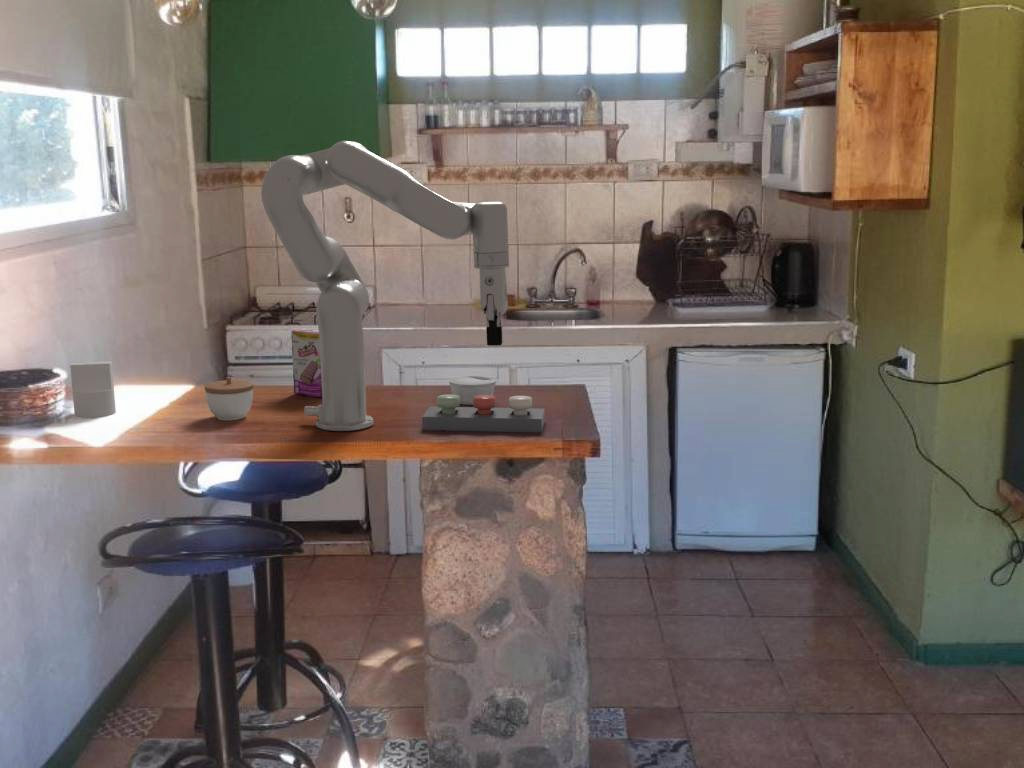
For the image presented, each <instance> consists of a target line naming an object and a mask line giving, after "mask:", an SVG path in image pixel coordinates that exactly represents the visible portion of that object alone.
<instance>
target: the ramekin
mask: <svg viewBox="0 0 1024 768" xmlns="http://www.w3.org/2000/svg"><path fill="white" fill-rule="evenodd" d="M496 385H497V381H496V379H494V378H492V377H488V376H478V375H472V376H471V375H470V376H469V375H466V376H457V377H453V378H451V379H450V380H449V386H450V390H451V395H458V396H460V405H468V406H473V397H474V396H479V395H491V396H494V392H495V386H496Z"/></svg>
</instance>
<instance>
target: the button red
mask: <svg viewBox="0 0 1024 768" xmlns="http://www.w3.org/2000/svg"><path fill="white" fill-rule="evenodd" d="M496 400H497V398H496V396H494V395H493V396H491V395H479V396H474V397H473V405H472V407H474V408H477V409H478V415H491V408H497V405H496V404H497V403H496Z"/></svg>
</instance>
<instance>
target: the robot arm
mask: <svg viewBox="0 0 1024 768" xmlns="http://www.w3.org/2000/svg"><path fill="white" fill-rule="evenodd" d="M262 180H263V181H262V184H261V192H260V193H261V202H262V206H263V209H264V212H265V214H266V216H267V218H268V219H269V222H270V223H271V225H272V227H273V229H274V230H275V232H276V234H277V236H278V238H279V240H280V241H281V244H282V246H283V247H284V249H285V250H286V252H287V254H288V256H289V258H290V259H291V261H292V262H293V263H292V264H293V265H294V267H295V269H296V271H297V272H298V274H299V275H300V276H301V278H303V279H305V280H306V281H307V282H311V283H315V285H317V286H316V287H317V288H318V290H319V291H320V294H319V296H318V297H317V298H318V299H317V302H316V310H315V311H316V320H317V326H318V329H317V330H319V339H320V357H321V380H322V398H321V399H322V400H321V401H322V404H319V405H318V406H313V405H305V406H304V411H303V412H304V415H306V417H317V418H318V419H316V421H315V424H316V425H315V426H316V428H319V429H320V430H324V431H331V432H350V431H351V432H352V431H359V430H364V429H367V428H369V427H372V425H374V418H373V417H372V416H371V415H367V397H366V396H367V395H366V371H365V370H366V367H365V366H366V364H365V362H366V361H365V360H366V359H365V343H364V331H363V330H364V329H363V320H362V318H363V316H364V315H365V314H366V312H367V310H368V308H369V304H370V295H369V291H368V289H367V287H366V285H365V283H364V281H363V279H361V276H360V275H359V272H358V271H357V269H356V267H355V266H354V264H353V262H352V260H351V258H350V257H349V254H348V253H347V252H346V250H345V248H344V247H343V245H341V244H340V243H339V241H337V240H336V239H335V238H332V237H331V236H327V235H326V236H325V235H324V233H323V232H322V230H321V228H320V227H319V225H318V223H317V221H316V219H315V218H314V216H313V214H312V212H311V211H310V209H309V208H308V207H307V205H306V203H305V201H304V198H303V197H304V196H305V195H310V194H315V193H317V192H322V191H325V190H329V189H333V188H336V187H341V186H344V185H347V186H349V187H350V188H352V189H354V190H356V191H358V192H360V193H361V194H364V195H365V196H367V197H369V198H371V199H372V200H374V201H375V202H378V203H380V204H382V205H383V206H385V207H387V208H388V209H390V210H391V211H393V212H395V213H397V214H399V215H400V216H402V217H404V218H406V219H408V220H409V221H411V222H413V223H414V224H416V225H418V226H420V227H421V228H423V229H426V230H427V231H430V232H431V233H433V234H434V235H436V236H438V237H440V238H443V239H445V240H453V241H454V240H456V239H460V238H462V237H464V236H469V235H472V247H473V249H472V250H473V266H474V269H479V294H480V296H479V297H480V308H481V309H480V310H481V313H482V314H483V315H485V317H486V318H485V319H486V320H485V321H486V328H485V331H486V345H487V346H490V347H491V346H493V347H494V346H502V345H503V326H502V315H503V314H505V313H506V312H507V310H508V309H509V303H508V301H509V300H508V287H507V275H506V268H509V267H510V257H509V256H510V255H509V251H510V250H509V225H508V208H507V207H508V206H506V204H505V203H504V202H502V201H483V202H482V201H481V202H477V203H474V202H473V203H469V202H462V201H461V202H460V201H451V200H449V199H448V198H445V197H443V196H442V195H440V194H439V193H436V192H434V191H433V190H431V189H429V188H427V187H426V186H424V185H422V184H421V183H420V182H418V181H417V180H416V179H415V178H414V177H413V176H412V175H411V174H410V173H409V172H408V171H406V170H405V169H403V168H401V167H399V166H397V165H395V164H394V163H392V162H390V161H388V160H386V159H385V158H382V157H381V156H378V155H376V154H375V153H374V152H371V151H369V150H368V149H367V148H366V147H365V146H364V145H362V144H361V143H359V142H357V141H351V140H350V141H349V140H342V141H341V140H340V141H337V142H336V143H334V144H333V145H332V146H331V147H329V148H325V149H322V150H318V151H314V152H309V153H305V154H302V155H301V154H298V155H297V154H289V155H288V154H287V155H285V156H282V157H280V158H278V159H277V160H276V161H274V162H273V163H272V164H271V166H270V167H269V168H268V170H267V171H266V172H265V176H264V178H263V179H262Z"/></svg>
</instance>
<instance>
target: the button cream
mask: <svg viewBox="0 0 1024 768" xmlns="http://www.w3.org/2000/svg"><path fill="white" fill-rule="evenodd" d="M508 406H509V407H508V408H511V409H514V415H524V416H527V409H530V408H533V397H532V396H529V395H513V396H510V397H508Z"/></svg>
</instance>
